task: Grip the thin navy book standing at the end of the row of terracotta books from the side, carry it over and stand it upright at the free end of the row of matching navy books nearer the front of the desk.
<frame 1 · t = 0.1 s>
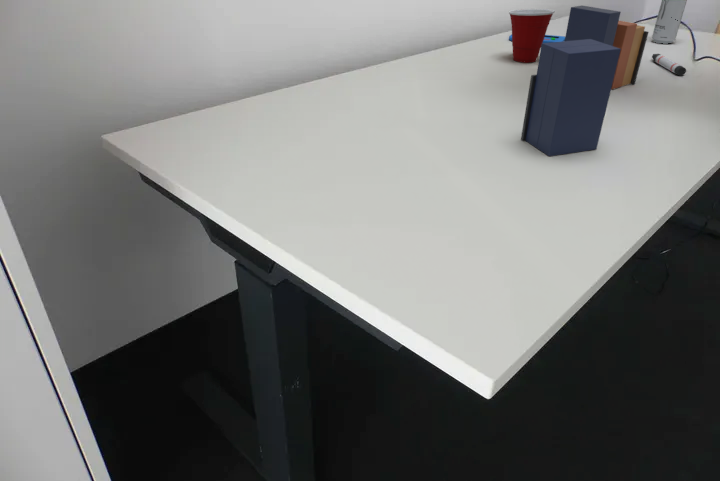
handheld gaming device: (536, 40, 155), on the table
plastic cup: (523, 60, 137), on the table
terracotta books: (611, 51, 117), on the table
navy book: (578, 88, 116), on the table
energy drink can: (662, 42, 152), on the table
marker: (664, 68, 130), on the table
navy books: (568, 97, 86), on the table
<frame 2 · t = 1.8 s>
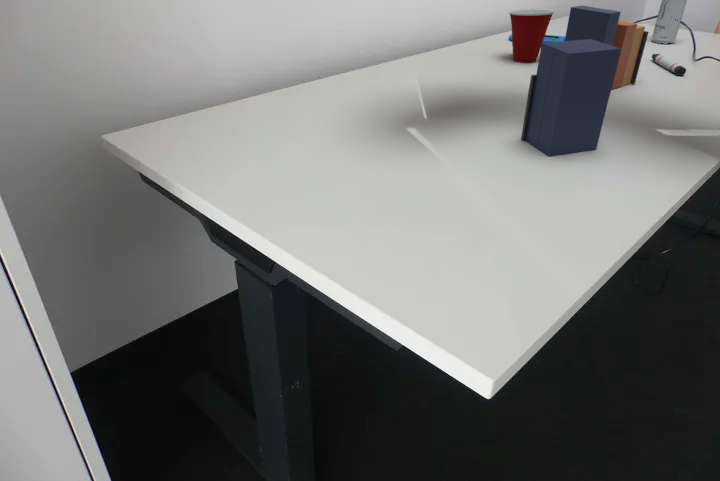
nothing on the table moved.
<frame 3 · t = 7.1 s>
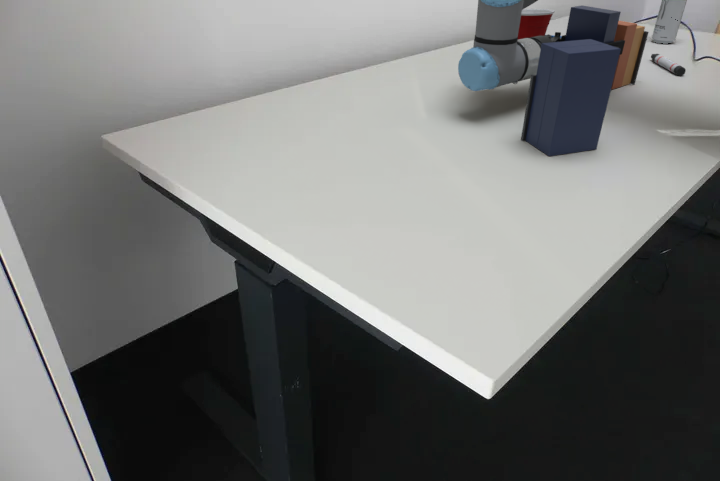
hand: (601, 42, 113), 9 cm above the table, tool horizontal, fingers closed on navy book, 9 cm apart
navy book: (578, 88, 116), on the table, touching gripper
everything else where it was.
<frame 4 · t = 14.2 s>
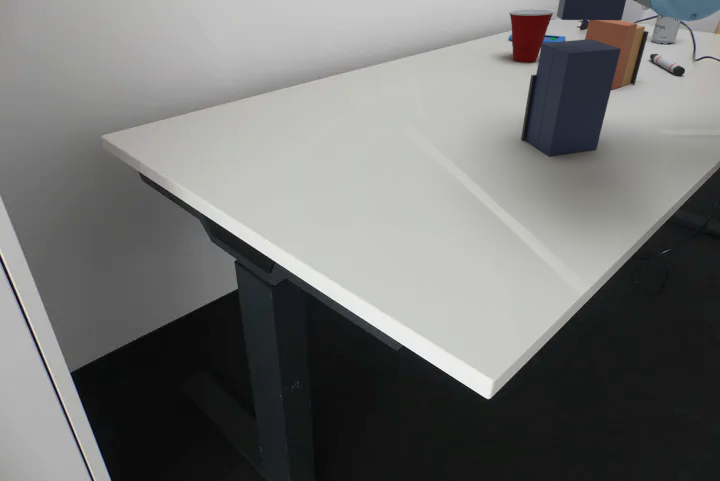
navy book: (588, 18, 85), point 19 cm above the table, touching gripper
everything else where it was.
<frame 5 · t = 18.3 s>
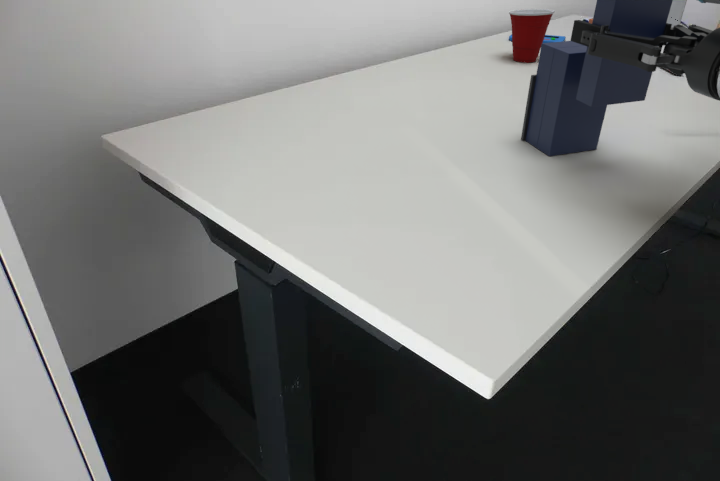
hand: (604, 28, 76), 19 cm above the table, tool horizontal, fingers closed on navy book, 9 cm apart
navy book: (610, 100, 77), point 10 cm above the table, touching gripper
everything else where it was.
when the fingers open (9 cm above the table, at t = 21.5 s): navy book stays where it is, on the table.
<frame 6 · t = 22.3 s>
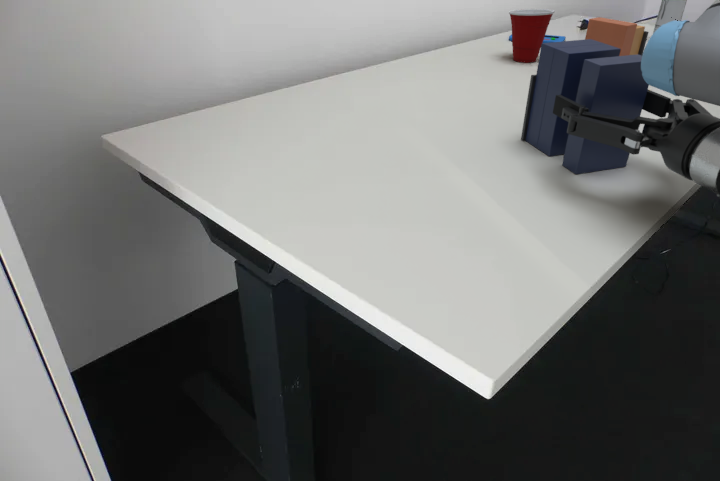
hand: (595, 99, 80), 10 cm above the table, tool horizontal, fingers open, 13 cm apart
navy book: (593, 165, 83), on the table
everything else where it was.
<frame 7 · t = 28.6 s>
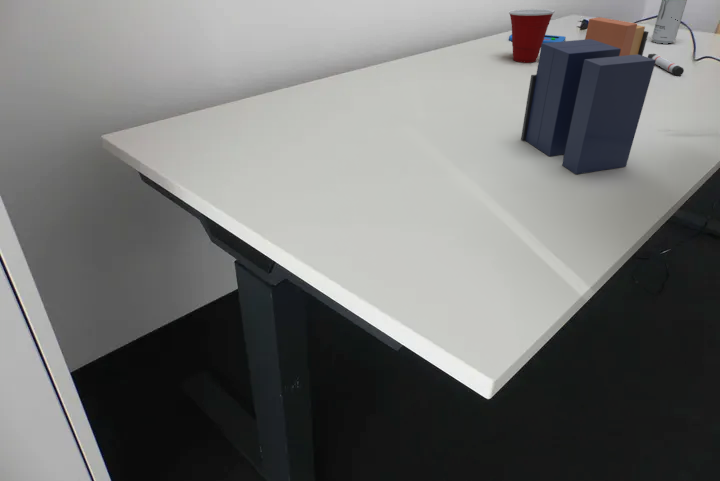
nothing on the table moved.
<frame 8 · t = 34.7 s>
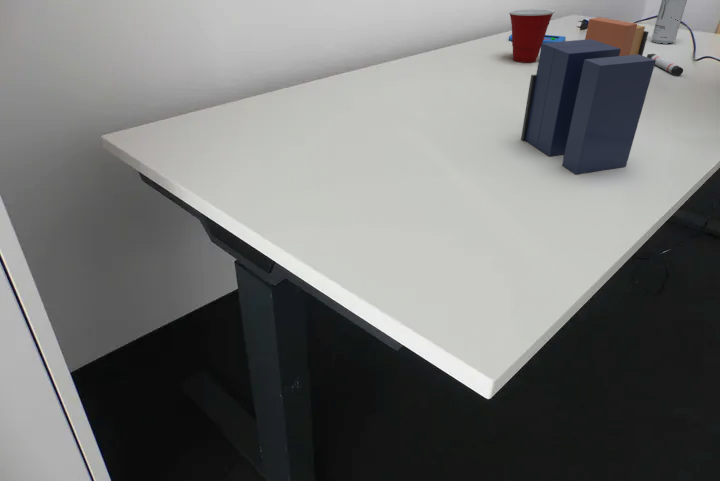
nothing on the table moved.
at the end: navy book inside the target area on the navy books (0.0 cm from its centre), point 0.0 cm above the navy books's base; navy book tilted 0°; the gripper is holding nothing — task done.
